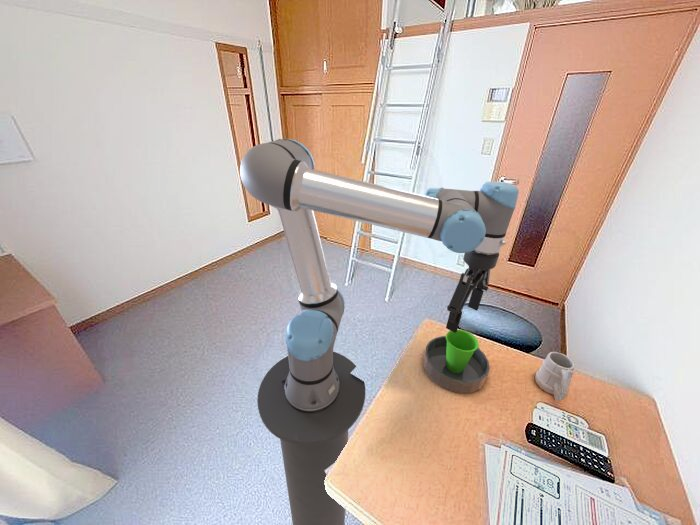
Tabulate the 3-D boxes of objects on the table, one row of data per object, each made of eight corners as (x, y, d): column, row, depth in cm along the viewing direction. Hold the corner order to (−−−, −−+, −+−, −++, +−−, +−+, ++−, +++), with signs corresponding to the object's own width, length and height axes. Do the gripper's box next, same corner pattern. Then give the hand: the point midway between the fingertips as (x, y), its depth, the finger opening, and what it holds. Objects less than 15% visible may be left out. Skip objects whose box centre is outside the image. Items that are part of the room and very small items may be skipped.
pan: (413, 372, 86) (415, 361, 84) (436, 338, 99) (438, 328, 97) (476, 405, 76) (480, 394, 74) (491, 363, 90) (495, 352, 88)
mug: (560, 377, 85) (576, 348, 80) (572, 412, 75) (592, 381, 70) (531, 370, 87) (545, 341, 82) (540, 403, 78) (556, 372, 72)
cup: (433, 364, 88) (439, 337, 83) (450, 351, 93) (457, 325, 88) (459, 384, 82) (467, 356, 77) (476, 369, 87) (485, 342, 82)
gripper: (477, 272, 58) (454, 348, 68) (515, 240, 74) (493, 305, 84) (443, 259, 63) (427, 333, 73) (486, 231, 79) (468, 295, 89)
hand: (462, 318), depth 79 cm, fingers open, 13 cm apart
